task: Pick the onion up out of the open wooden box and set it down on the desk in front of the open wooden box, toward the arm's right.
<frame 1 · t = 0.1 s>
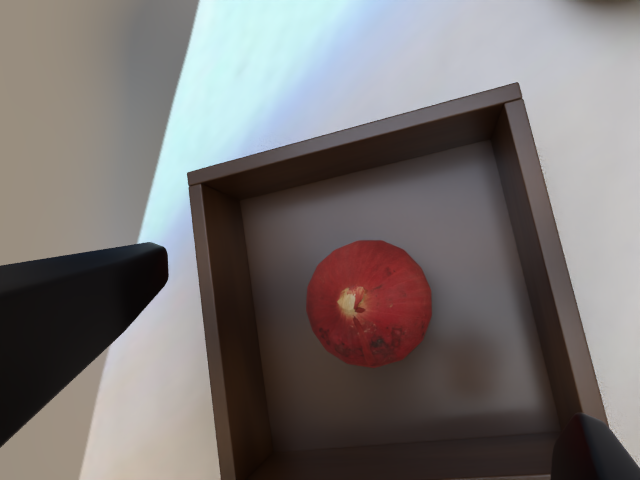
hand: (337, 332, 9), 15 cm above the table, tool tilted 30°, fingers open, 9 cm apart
onion: (379, 300, 23), resting on open wooden box
open wooden box: (380, 299, 23), on the table
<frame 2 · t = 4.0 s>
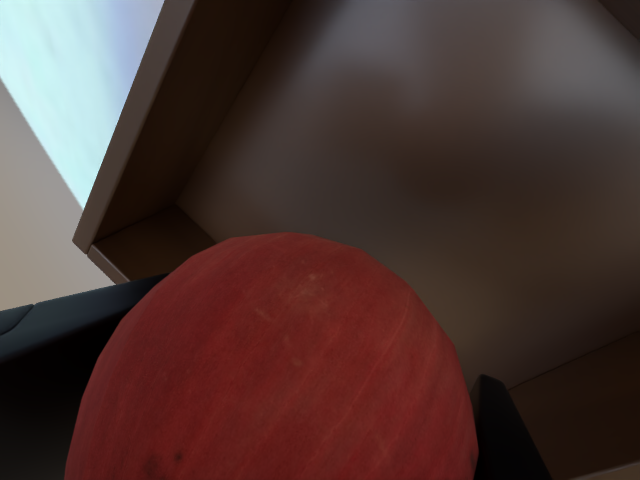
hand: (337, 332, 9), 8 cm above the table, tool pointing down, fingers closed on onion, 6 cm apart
onion: (360, 291, 10), point 6 cm above the table, touching gripper
open wooden box: (412, 209, 15), on the table
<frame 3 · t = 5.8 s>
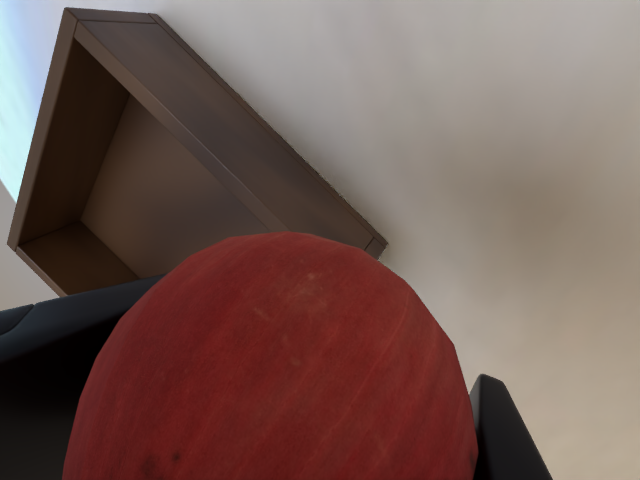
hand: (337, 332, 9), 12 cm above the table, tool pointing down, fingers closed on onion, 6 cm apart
onion: (360, 291, 10), point 10 cm above the table, touching gripper
open wooden box: (204, 226, 25), on the table
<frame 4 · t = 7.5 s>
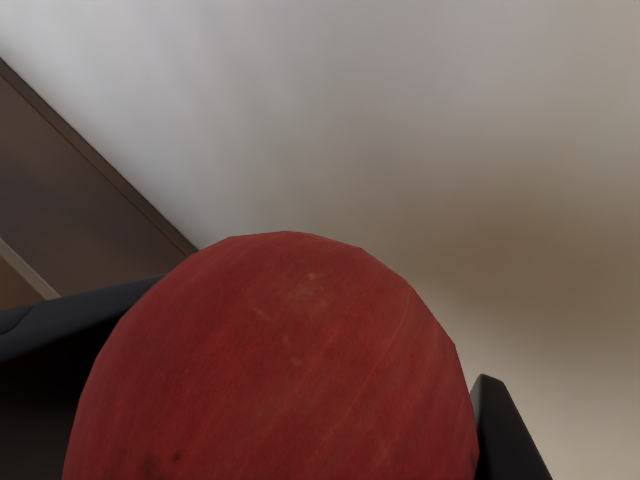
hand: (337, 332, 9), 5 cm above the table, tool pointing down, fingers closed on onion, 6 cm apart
onion: (360, 291, 10), point 3 cm above the table, touching gripper
open wooden box: (75, 285, 21), on the table
when the fingers open (1 cm above the table, at t = 8.9 s): onion stays where it is, on the table.
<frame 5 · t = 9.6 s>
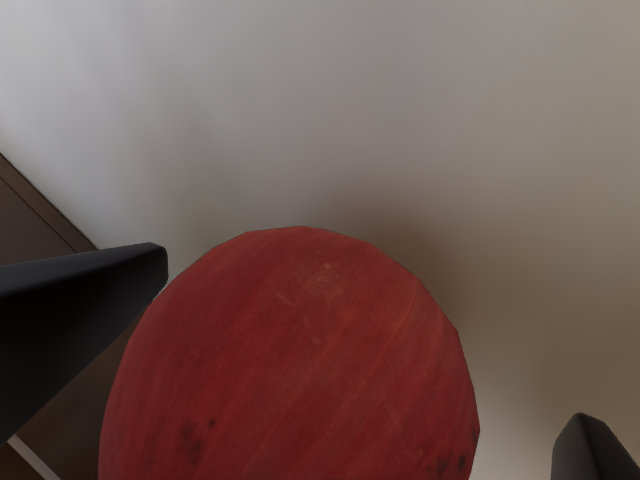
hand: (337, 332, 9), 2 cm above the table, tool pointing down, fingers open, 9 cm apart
onion: (366, 285, 10), on the table
open wooden box: (17, 321, 19), on the table
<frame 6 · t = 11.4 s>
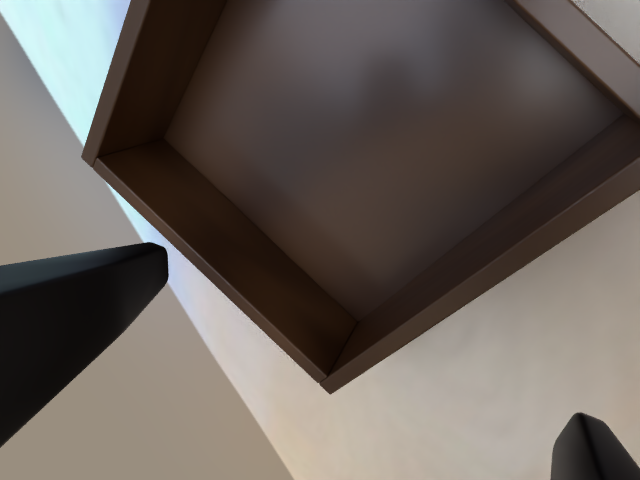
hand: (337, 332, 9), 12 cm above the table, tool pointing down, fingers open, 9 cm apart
open wooden box: (344, 126, 19), on the table
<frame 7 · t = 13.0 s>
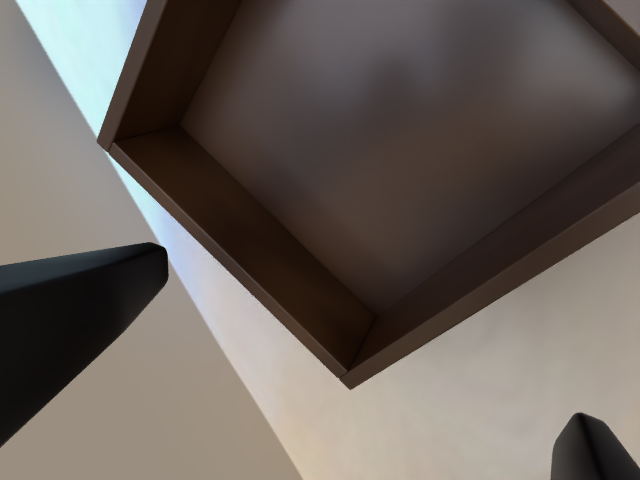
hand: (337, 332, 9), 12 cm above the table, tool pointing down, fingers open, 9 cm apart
open wooden box: (370, 113, 18), on the table
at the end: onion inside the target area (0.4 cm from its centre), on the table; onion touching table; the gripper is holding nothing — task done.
